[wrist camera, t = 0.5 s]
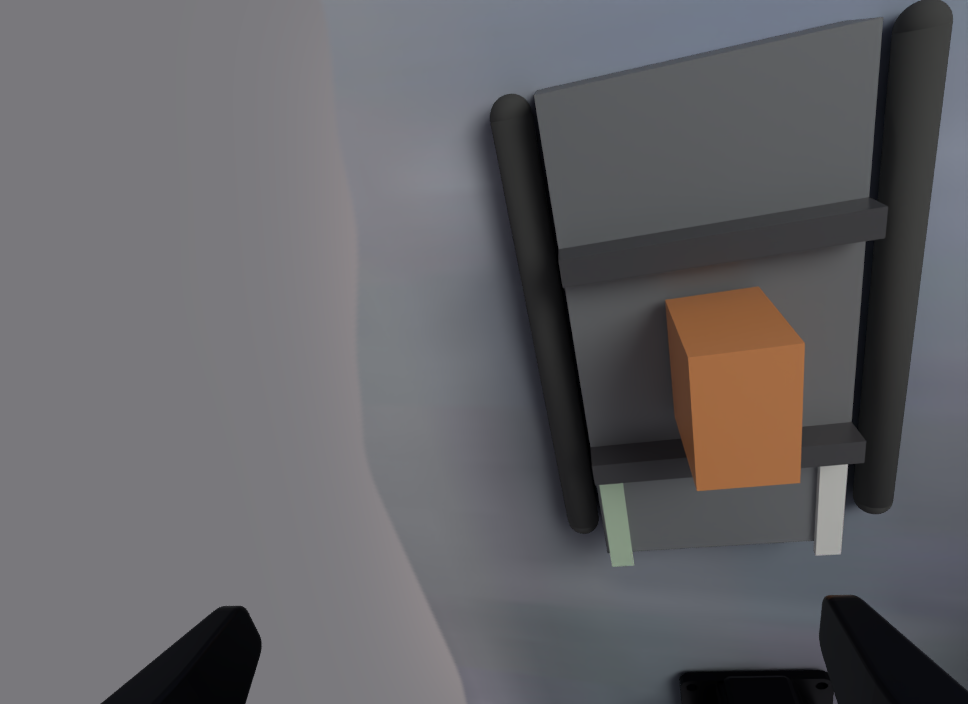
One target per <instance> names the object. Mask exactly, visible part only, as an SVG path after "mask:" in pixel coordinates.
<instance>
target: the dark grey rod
mask: <svg viewBox="0 0 968 704" xmlns="http://www.w3.org/2000/svg"><path fill="white" fill-rule="evenodd" d="M490 122H491V128H492V133H493V138H494V143H495V148H496V153H497V158H498V163H499V169H500V174H501V179H502V184H503V189H504V194H505V199H506V204H507V210H508V215H509V220H510V225H511V230H512V235H513V240H514V245H515V251H516V256H517V261H518V266H519V271H520V276H521V281H522V286H523V292H524V297H525V302H526V307H527V312H528V317H529V322H530V327H531V332H532V338H533V343H534V348H535V353H536V358H537V363H538V368H539V373H540V379H541V384H542V389H543V394H544V399H545V404H546V409H547V414H548V420H549V425H550V430H551V435H552V440H553V445H554V450H555V455H556V461H557V466H558V471H559V476H560V481H561V486H562V491H563V496H564V502H565V507H566V512H567V517H568V522H569V524H570V526H571V527H572V529H573V530H575V531H576V532H578V533H582V534H587V533H590V532H592V531H593V530H594V529H595V528H596V527H597V525H598V521H599V516H598V510H597V504H596V498H595V492H594V485H593V479H592V473H591V467H590V461H589V455H588V449H587V443H586V437H585V431H584V425H583V419H582V412H581V406H580V400H579V394H578V388H577V382H576V376H575V370H574V364H573V358H572V352H571V346H570V339H569V333H568V327H567V321H566V315H565V309H564V303H563V297H562V291H561V285H560V279H559V272H558V266H557V260H556V254H555V248H554V242H553V236H552V230H551V224H550V218H549V212H548V206H547V199H546V193H545V187H544V181H543V175H542V169H541V163H540V157H539V151H538V145H537V139H536V133H535V126H534V120H533V114H532V110H531V107H530V105H529V103H528V102H527V101H526V100H525V99H524V98H523V97H521V96H520V95H517V94H507V95H504V96H502V97H500V98H499V99H498V100H497V101H496V102H495V103H494V104H493V106H492V109H491V112H490Z"/></svg>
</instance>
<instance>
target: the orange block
mask: <svg viewBox="0 0 968 704" xmlns="http://www.w3.org/2000/svg"><path fill="white" fill-rule="evenodd" d="M665 306H666V318H667V330H668V343H669V355H670V367H671V380H672V392H673V404H674V416H675V420H676V423H677V426H678V430H679V433H680V436H681V440H682V443H683V446H684V450H685V453H686V457H687V460H688V463H689V467H690V470H691V473H692V477H693V480H694V483H695V487H696V490H697V491H705V490H718V489H731V488H743V487H756V486H769V485H781V484H794V483H800V474H801V445H802V415H803V385H804V356H805V343H804V341H803V340H802V339H801V338H800V336H799V335H798V334H797V333H796V332H795V330H794V329H793V328H792V327H791V325H790V324H789V323H788V322H787V321H786V319H785V318H784V317H783V316H782V314H781V313H780V312H779V311H778V309H777V308H776V307H775V306H774V305H773V303H772V302H771V301H770V300H769V298H768V297H767V296H766V295H765V294H764V292H763V291H762V290H761V289H760V287H759V286H757V287H751V288H744V289H737V290H730V291H723V292H716V293H709V294H702V295H695V296H688V297H681V298H675V299H668V300H665Z"/></svg>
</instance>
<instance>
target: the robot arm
mask: <svg viewBox="0 0 968 704" xmlns="http://www.w3.org/2000/svg"><path fill="white" fill-rule="evenodd" d="M819 641H820V647H821V651H822V655H823V658H824V661H825V664H826V668H827V671H828V672H825V671H821V670H804V671H749V672H693V673H685V674H683V675H681V676H680V679H679V681H680V691H681V701H682V704H833V694H834V693H835V696H836V699H837V702H838V704H968V691H967V690H966V689H965V688H964V687H963V686H961V685H960V684H959V683H958V682H957V681H956V680H954V679H953V678H952V677H951V676H950V675H949V674H948V673H946V672H945V671H944V670H943V669H942V668H941V667H939V666H938V665H937V664H936V663H935V662H934V661H933V660H931V659H930V658H929V657H928V656H927V655H926V654H925V653H923V652H922V651H921V650H920V649H919V648H918V647H916V646H915V645H914V644H913V643H912V642H911V641H910V640H908V639H907V638H906V637H905V636H904V635H903V634H901V633H900V632H899V631H898V630H897V629H896V628H895V627H893V626H892V625H891V624H890V623H889V622H888V621H887V620H885V619H884V618H883V617H882V616H881V615H880V614H878V613H877V612H876V611H875V610H874V609H873V608H872V607H870V606H869V605H868V604H867V603H866V602H865V601H863V600H862V599H861V598H859V597H857V596H855V595H828V596H826V597H825V598H824V599H823V602H822V610H821V620H820V630H819ZM260 653H261V638H260V635H259V633H258V631H257V629H256V627H255V625H254V623H253V621H252V619H251V617H250V615H249V613H248V611H247V610H246V608H244V607H243V606H223V607H219V608H218V609H216V610H215V611H213V612H212V613H211V614H210V615H208V616H207V617H206V618H205V619H203V620H202V621H201V622H200V623H199V624H197V625H196V626H195V627H194V628H193V629H191V630H190V631H189V632H188V633H186V634H185V635H184V636H183V637H182V638H180V639H179V640H178V641H177V642H175V643H174V644H173V645H172V646H171V647H169V648H168V649H167V650H166V651H164V652H163V653H162V654H161V655H160V656H158V657H157V658H156V659H155V660H153V661H152V662H151V663H150V664H149V665H147V666H146V667H145V668H144V669H143V670H141V671H140V672H139V673H138V674H136V675H135V676H134V677H133V678H132V679H130V680H129V681H128V682H127V683H125V684H124V685H123V686H122V687H121V688H119V689H118V690H117V691H116V692H114V694H112V695H111V696H110V697H108V698H107V699H106V700H105V701H104V702H102V703H101V704H245V703H246V700H247V697H248V693H249V690H250V687H251V683H252V680H253V677H254V674H255V670H256V667H257V664H258V660H259V657H260Z"/></svg>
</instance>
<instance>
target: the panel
mask: <svg viewBox="0 0 968 704" xmlns="http://www.w3.org/2000/svg"><path fill="white" fill-rule="evenodd" d="M882 26H883V17H878V18H868V19H858V20H847V21H842V22H837V23H833V24H829V25H824V26H820V27H815V28H811V29H806V30H802V31H798V32H793V33H789V34H784V35H780V36H775V37H771V38H767V39H762V40H758V41H753V42H749V43H744V44H740V45H736V46H731V47H727V48H722V49H718V50H713V51H709V52H705V53H700V54H696V55H691V56H687V57H682V58H678V59H674V60H669V61H665V62H660V63H656V64H651V65H647V66H643V67H638V68H634V69H629V70H625V71H621V72H616V73H612V74H607V75H603V76H598V77H594V78H590V79H585V80H581V81H576V82H572V83H567V84H563V85H559V86H554V87H550V88H545V89H541V90H537V91H536V93H535V94H534V99H535V106H536V112H537V118H538V124H539V130H540V137H541V143H542V149H543V155H544V161H545V168H546V174H547V180H548V186H549V192H550V199H551V205H552V211H553V217H554V223H555V230H556V236H557V242H558V248H559V255H558V262H559V268H560V274H561V280H562V286H563V288H565V292H566V298H567V304H568V310H569V316H570V323H571V329H572V335H573V341H574V347H575V354H576V360H577V366H578V372H579V378H580V385H581V391H582V397H583V403H584V409H585V416H586V422H587V428H588V434H589V441H590V447H591V461H592V470H593V476H594V483H595V485H597V490H598V496H599V503H600V509H601V515H602V521H603V527H604V534H605V540H606V546H607V552H608V553H610V556H611V562H612V567H616V566H634V561H633V553H632V552H633V551H650V550H667V549H683V548H700V547H717V546H733V545H750V544H767V543H784V542H800V541H814V553H815V555H834V554H841V545H842V537H843V524H844V512H845V499H846V486H847V473H848V464H857V463H864V461H865V450H866V440H865V439H864V438H863V436H862V435H861V434H860V432H859V431H858V430H857V428H856V427H855V426H854V425H853V423H852V409H853V397H854V384H855V371H856V358H857V345H858V333H859V320H860V307H861V294H862V282H863V269H864V256H865V243H866V241H871V240H877V239H884V238H885V236H886V225H887V214H888V206H886V205H884V204H882V203H880V202H878V201H876V200H874V199H872V198H870V197H869V192H870V179H871V167H872V154H873V141H874V128H875V115H876V103H877V90H878V77H879V64H880V52H881V39H882ZM757 286H759V287H760V289H761V290H762V291H763V292H764V294H765V295H766V296H767V297H768V298H769V300H770V301H771V302H772V303H773V305H774V306H775V307H776V308H777V309H778V311H779V312H780V313H781V314H782V316H783V317H784V318H785V319H786V321H787V322H788V323H789V324H790V325H791V327H792V328H793V329H794V330H795V332H796V333H797V334H798V335H799V336H800V338H801V339H802V340H803V341H804V343H805V356H804V385H803V415H802V445H801V474H800V483H794V484H781V485H769V486H756V487H743V488H731V489H718V490H705V491H697V490H696V487H695V483H694V480H693V477H692V473H691V470H690V467H689V463H688V460H687V457H686V453H685V450H684V446H683V443H682V440H681V436H680V433H679V430H678V426H677V423H676V420H675V416H674V404H673V392H672V380H671V367H670V355H669V343H668V330H667V318H666V306H665V300H668V299H675V298H681V297H688V296H695V295H702V294H709V293H716V292H723V291H730V290H737V289H744V288H751V287H757Z"/></svg>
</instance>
